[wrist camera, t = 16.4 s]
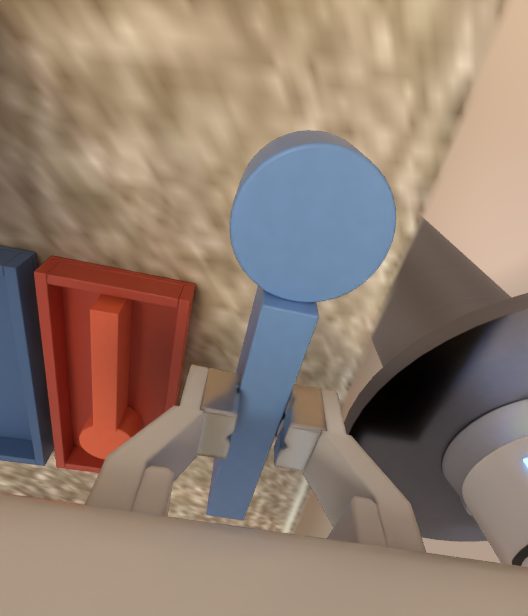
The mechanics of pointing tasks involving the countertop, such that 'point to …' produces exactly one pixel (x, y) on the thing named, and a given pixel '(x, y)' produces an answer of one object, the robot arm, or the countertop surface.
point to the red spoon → (110, 378)
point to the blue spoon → (294, 279)
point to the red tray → (77, 345)
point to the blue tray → (22, 364)
